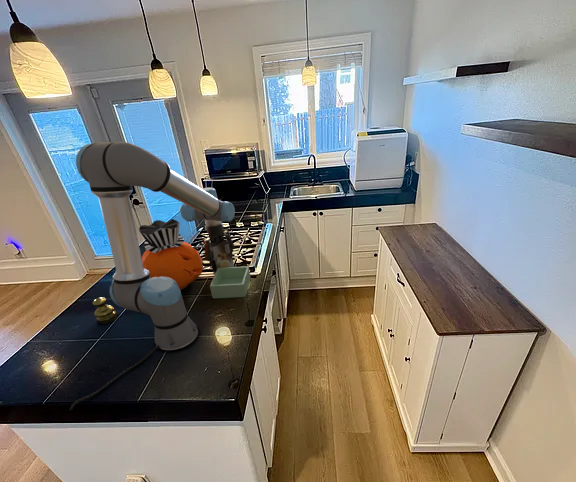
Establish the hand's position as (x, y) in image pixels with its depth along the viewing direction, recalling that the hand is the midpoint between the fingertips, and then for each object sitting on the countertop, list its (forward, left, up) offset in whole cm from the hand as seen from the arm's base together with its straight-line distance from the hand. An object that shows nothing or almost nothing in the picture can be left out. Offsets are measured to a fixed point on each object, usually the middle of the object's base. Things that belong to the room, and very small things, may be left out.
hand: (223, 267), depth 155 cm
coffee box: (0, 0, -3) cm, 3 cm away
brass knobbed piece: (-54, +11, -3) cm, 55 cm away
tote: (-8, -15, -3) cm, 17 cm away
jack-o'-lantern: (-20, +10, -3) cm, 22 cm away
